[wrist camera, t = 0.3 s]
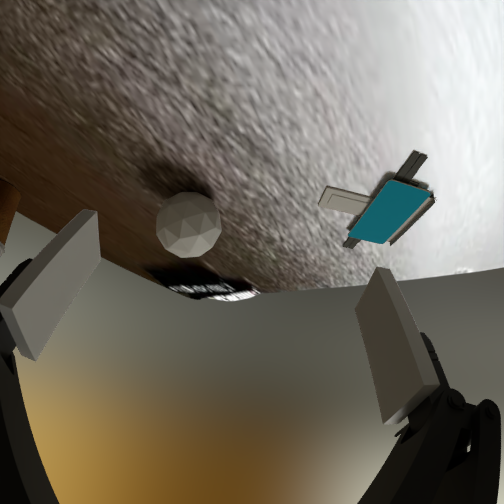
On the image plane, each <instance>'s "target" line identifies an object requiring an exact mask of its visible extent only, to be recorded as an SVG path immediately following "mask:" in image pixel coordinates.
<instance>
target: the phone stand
mask: <svg viewBox="0 0 504 504" xmlns="http://www.w3.org/2000/svg"><path fill="white" fill-rule="evenodd" d="M420 155H421V154H419V153H416V152H414V153H413V154H412V156H411V157H410V158H409V160H408V161H407V163H406V164H405V165H404V166H402V168H401V169H400V171H399V172H398V173H397V175H396V176H395V178H394V179H393V180H392V179H391V180H388V181H387V182H386V183H385V185H384V186H383V188H382V189H381V190H380V192H379V193H378V194H377V196H376V197H375V198H372V197H368V196H364V195H360V194H357V193H353V192H349V191H345V190H341V189H337V188H333V187H328V186H327V188H326V190H325V192H324V194H323V196H322V198H321V200H320V202H319V204H318V206H320V207H324V208H328V209H333V210H337V211H341V212H345V213H350V214H354V215H358V216H361V217H360V219H359V220H358V221H357V223H356V224H355V225H354V227H353V228H352V229H351V231H350V232H349V233H348V236H349V238H348V240H347V242H346V243H345V244H344V245H343V247H346V248H347V247H348V246H349V245H350V244H351V243H352V244H351V245H350V246H349V247H348V248H351V249H353V248H354V247H355V246H356V244H357V243H358V242H360V240H365V241H369V242H374V243H378V244H383V243H385V242H386V241H388V242H390V246H391V245H392V244H393V243H395V242H396V241H397V240H398V239H399V238H400V237H401V236H402V235H403V234H404V233H405V232H406V231H407V230H408V229H409V228H410V227H411V226H412V225H413V224H414V223H415V222H416V221H417V220H418V219H419V218H420V217H421V216H422V215H423V214H424V213H425V212H426V211H427V210H428V209H429V208H430V207H431V206H432V205H433V204H434V203H435V200H436V199H435V198H436V197H434V194H433V195H432V196H431V197H429V196H430V192H429V190H426V189H423V188H420V187H417V186H418V185H419V183H417V182H414V181H411V179H412V178H413V177H414V175H415V174H416V173H417V171H418V169H419V168H420V167H421V166H422V164H423V163H424V162H425V160H426V159H427V158H428V157H427V156H424V155H421V156H420ZM419 156H420V157H419ZM418 157H419V159H418ZM417 159H418V160H417ZM416 160H417V162H416V163H415V161H416ZM414 163H415V164H414ZM413 164H414V166H413V167H412V165H413ZM411 167H412V168H411ZM352 241H353V242H352Z"/></svg>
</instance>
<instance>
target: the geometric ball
mask: <svg viewBox="0 0 504 504" xmlns="http://www.w3.org/2000/svg"><path fill="white" fill-rule="evenodd" d="M220 233H221V223H220V216H219V212H218V210H217V208H216V206H215V204H214V202H213V201H212V200H211V199H209V198H207V197H205V196H203V195H202V194H200V193H198V192H181V193H178V194H176V195H174V196H172V197H170V198H168V199H167V200H165V201H164V202H163V205H162V207H161V209H160V211H159V213H158V215H157V225H156V235H157V236H158V238H159V240H160V241H161V243H162V245H163V246H164V248H165V249H166V250H168V251H170V252H172V253H173V254H175V255H177V256H179V257H181V258H183V257H198V256H201V255H202V254H204V253H205V252H206V251H208V250H209V249H211V248H212V247H213V245H214V243H215V242H216V240H217V238H218V236H219V235H220Z"/></svg>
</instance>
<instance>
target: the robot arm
mask: <svg viewBox="0 0 504 504" xmlns="http://www.w3.org/2000/svg"><path fill="white" fill-rule="evenodd" d="M100 261H101V258H100V247H99V235H98V220H97V212H96V211H91V210H85V209H83V210H82V211H81V212H80V213H79V214H78V215H77V216H76V217H75V218H74V219H73V220H71V221H70V222H69V223H68V224H67V225H66V226H65V227H64V228H63V229H62V230H61V231H60V232H59V233H58V234H57V235H56V236H55V237H54V238H53V239H52V240H51V241H50V242H49V243H48V244H47V245H46V247H45V248H44V249H43V250H42V251H41V252H40V253H39V254H38V255H37V256H36V257H35V258H34V259H30V258H29V259H27V260H25V261H24V262H22V263H20V264H19V265H18V266H17V267H16V269H15V270H14V271H13V272H12V274H10V275H9V276H8V277H7V279H6V280H5V281H4V282H3V283H2V284H1V285H0V504H59V502H58V500H57V497H56V496H55V493H54V491H53V489H52V486H51V484H50V482H49V479H48V477H47V474H46V472H45V469H44V466H43V464H42V461H41V458H40V456H39V453H38V450H37V447H36V444H35V441H34V438H33V434H32V431H31V428H30V424H29V421H28V417H27V413H26V409H25V405H24V402H23V397H22V393H21V388H20V384H19V378H18V373H17V367H16V362H15V356H14V354H13V352H12V351H13V350H14V348H15V347H16V346H17V348H18V350H19V352H20V353H21V355H22V356H25V357H27V358H29V359H31V360H34V361H37V359H38V357H39V355H40V353H41V352H42V350H43V348H44V347H45V345H46V343H47V341H48V340H49V338H50V336H51V335H52V333H53V331H54V330H55V328H56V326H57V325H58V323H59V321H60V320H61V318H62V317H63V315H64V314H65V312H66V311H67V309H68V307H69V306H70V304H71V303H72V301H73V299H74V298H75V297H76V295H77V294H78V292H79V291H80V289H81V288H82V286H83V285H84V283H85V282H86V281H87V279H88V278H89V276H90V275H91V273H92V272H93V271H94V269H95V268H96V266H97V265H98V264H99V262H100ZM355 312H356V315H357V319H358V323H359V326H360V330H361V333H362V337H363V341H364V344H365V348H366V352H367V356H368V360H369V364H370V368H371V372H372V376H373V380H374V385H375V389H376V393H377V398H378V402H379V407H380V412H381V417H382V421H383V424H398V423H400V422H401V421H402V420H403V419H405V418H406V417H407V416H408V420H409V423H408V424H407V425H406V426H405V427H404V428H402V429H401V430H400V431H399V432H397V433H396V434H395V437H397V436H398V435H400V434H401V435H400V437H399V439H398V441H397V442H396V444H395V446H394V448H393V449H392V451H391V453H390V455H389V456H388V458H387V460H386V461H385V463H384V465H383V466H382V468H381V470H380V471H379V473H378V474H377V476H376V477H375V479H374V480H373V482H372V483H371V485H370V486H369V488H368V489H367V491H366V492H365V494H364V495H363V496H362V498H361V499H360V501H359V502H358V503H357V504H497V497H498V489H499V478H500V477H499V476H500V462H501V461H500V460H501V416H500V411H499V409H498V406H497V405H496V404H495V403H494V402H493V401H491V400H489V399H485V400H483V401H482V402H480V404H478V405H477V406H476V405H472V404H469V403H466V402H465V399H464V397H463V395H462V394H461V393H460V392H458V391H457V390H455V389H451V388H450V387H449V384H448V382H447V379H446V376H445V374H444V371H443V369H442V367H441V364H440V361H438V357H437V354H436V353H435V349H434V347H433V345H432V343H431V341H430V339H429V338H428V337H427V336H426V335H425V333H422V332H419V330H418V328H417V325H416V323H415V321H414V319H413V316H412V314H411V312H410V310H409V307H408V305H407V303H406V301H405V299H404V297H403V295H402V292H401V290H400V288H399V286H398V284H397V282H396V280H395V278H394V276H393V274H392V272H391V270H390V269H387V268H382V267H376V269H375V271H374V273H373V275H372V277H371V279H370V281H369V283H368V285H367V287H366V289H365V291H364V293H363V295H362V297H361V298H360V300H359V302H358V304H357V306H356V308H355ZM469 445H471V447H470V451H469V452H467V447H468V446H469Z"/></svg>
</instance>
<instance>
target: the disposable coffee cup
mask: <svg viewBox="0 0 504 504" xmlns="http://www.w3.org/2000/svg"><path fill="white" fill-rule="evenodd" d="M20 198H21V194H20V193H19V191H18V190H17V189H16V188H15V187H14V186H12V185H11V184H9V183H7V182H5V181H2V180H0V256H1V255H2V253H4V252H5V250H4V249H5V243H6V239H7V236H8V233H9V230H10V227H11V223H12V220H13V217H14V215H15V212H16V209H17V206H18V203H19V201H20Z"/></svg>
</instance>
